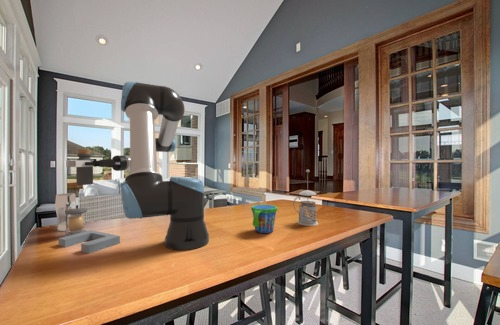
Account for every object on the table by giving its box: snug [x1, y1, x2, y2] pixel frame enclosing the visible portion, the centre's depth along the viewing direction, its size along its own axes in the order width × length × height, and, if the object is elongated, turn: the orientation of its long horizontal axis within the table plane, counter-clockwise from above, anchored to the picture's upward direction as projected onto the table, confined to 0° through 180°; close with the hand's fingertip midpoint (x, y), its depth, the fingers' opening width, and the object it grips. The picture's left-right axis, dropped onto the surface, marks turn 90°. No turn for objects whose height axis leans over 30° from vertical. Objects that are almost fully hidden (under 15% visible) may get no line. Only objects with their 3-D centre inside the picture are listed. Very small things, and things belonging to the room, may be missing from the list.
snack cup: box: [250, 204, 278, 234], centre depth 96 cm, size 16×10×10 cm
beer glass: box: [54, 192, 77, 232], centre depth 99 cm, size 7×7×15 cm
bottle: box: [75, 148, 94, 186], centre depth 101 cm, size 6×6×15 cm
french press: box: [292, 169, 319, 227], centre depth 109 cm, size 10×12×25 cm
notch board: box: [58, 229, 121, 255], centre depth 82 cm, size 17×10×2 cm, turn 65°
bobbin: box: [64, 207, 88, 237], centre depth 91 cm, size 7×7×10 cm
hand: (71, 163), depth 96 cm, fingers closed on bottle, 6 cm apart
